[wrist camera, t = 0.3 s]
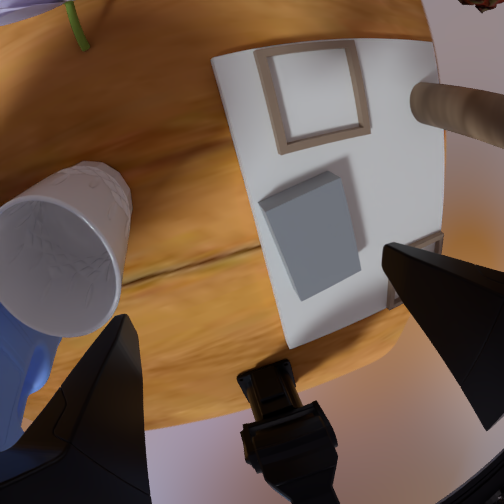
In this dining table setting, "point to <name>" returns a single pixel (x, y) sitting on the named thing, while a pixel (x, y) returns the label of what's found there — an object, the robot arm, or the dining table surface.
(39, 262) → the white cup
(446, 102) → the pin
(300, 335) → the board
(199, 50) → the dining table surface
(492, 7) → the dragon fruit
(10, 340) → the water jug
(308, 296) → the cover
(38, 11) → the water lily
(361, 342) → the dining table surface
